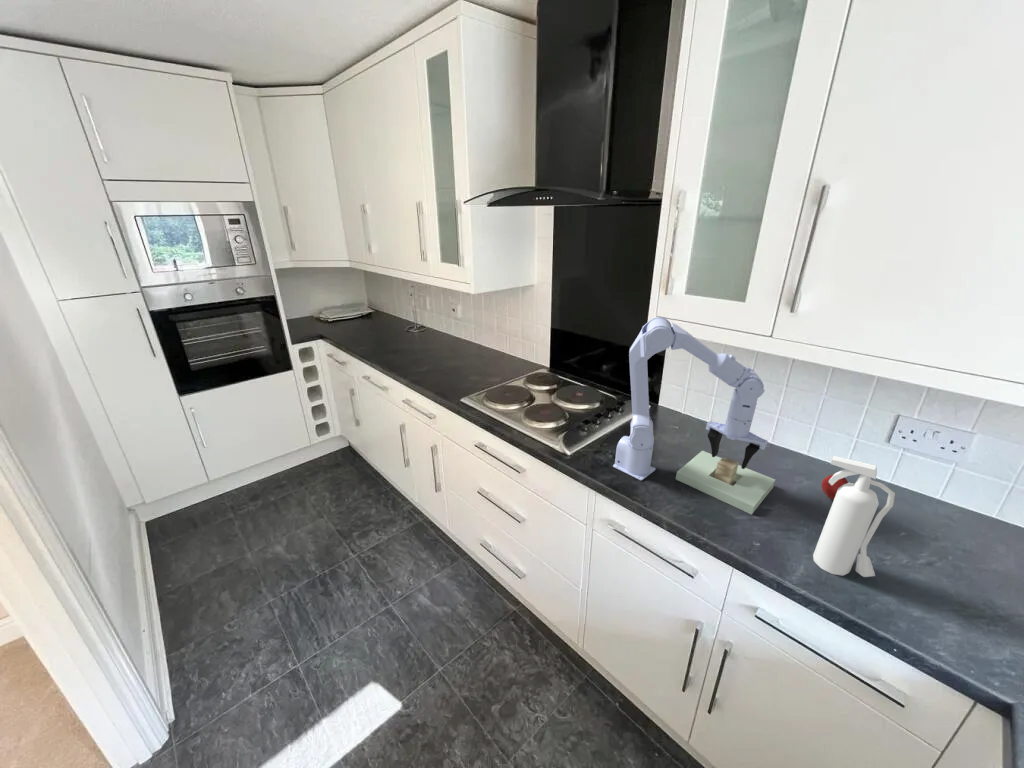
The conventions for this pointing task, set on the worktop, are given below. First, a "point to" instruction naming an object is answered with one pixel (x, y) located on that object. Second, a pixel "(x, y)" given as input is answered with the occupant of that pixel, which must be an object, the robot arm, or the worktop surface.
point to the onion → (832, 486)
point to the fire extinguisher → (851, 520)
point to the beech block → (726, 470)
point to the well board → (740, 495)
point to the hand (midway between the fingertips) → (728, 461)
